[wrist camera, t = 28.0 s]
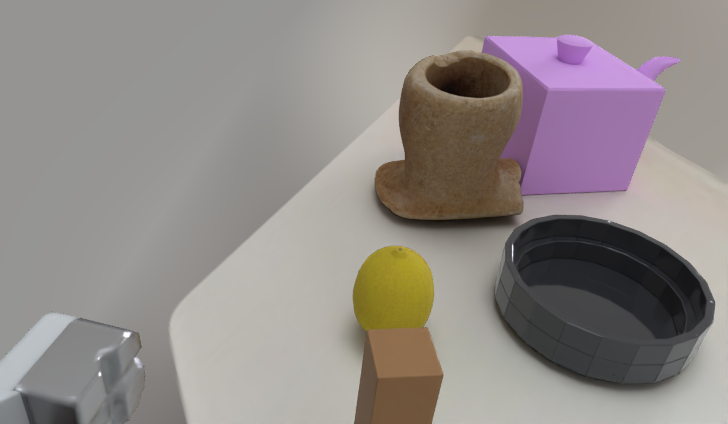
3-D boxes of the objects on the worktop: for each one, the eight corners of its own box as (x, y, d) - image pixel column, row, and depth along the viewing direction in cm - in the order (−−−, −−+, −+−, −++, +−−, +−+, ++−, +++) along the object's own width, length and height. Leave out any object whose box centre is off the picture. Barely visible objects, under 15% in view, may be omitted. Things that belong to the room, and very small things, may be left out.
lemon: (352, 306, 47) (362, 220, 43) (424, 316, 47) (442, 230, 42) (344, 360, 42) (354, 269, 38) (424, 371, 42) (443, 281, 38)
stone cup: (387, 243, 54) (411, 82, 46) (366, 175, 64) (383, 32, 56) (547, 242, 57) (597, 89, 49) (504, 176, 67) (539, 40, 58)
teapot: (682, 187, 69) (736, 67, 61) (474, 197, 62) (506, 63, 55) (607, 127, 81) (645, 20, 73) (428, 130, 75) (448, 13, 67)
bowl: (457, 275, 51) (467, 231, 49) (595, 244, 57) (610, 203, 55) (578, 417, 40) (599, 369, 38) (734, 360, 46) (761, 316, 44)
